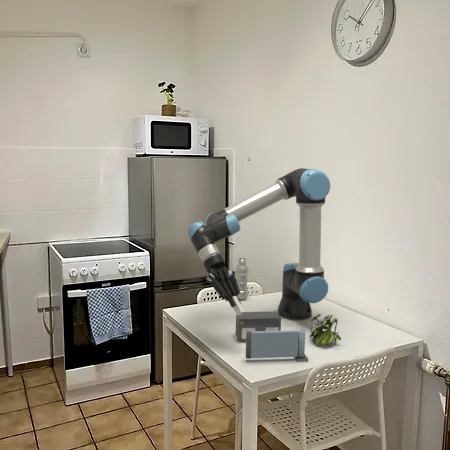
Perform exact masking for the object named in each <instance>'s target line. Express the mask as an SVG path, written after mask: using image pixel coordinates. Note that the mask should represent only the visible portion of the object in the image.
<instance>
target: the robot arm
mask: <svg viewBox="0 0 450 450" xmlns="http://www.w3.org/2000/svg"><path fill="white" fill-rule="evenodd" d="M330 190H331V180H330V178H329V177H328V176H327V174H326V173H325V172H323V171H321V170H319V169H317V168H316V169H315V168H297V169H294V170H292V171H290V172H289V173H286V174H285V175H282V176H281V177H279V178H277V179H275V181H274V183H272V184H271V185H269V186H266V187H265V188H263V189H261V190H259V191H257V192H254V193H253V194H250V195H249V196H247V197H245V198H243V199H241V200H239V201H237V202H234V203H233V204H231V205H229V206H227V207H226V208H224V209H221V210H219V211H217V212H211V213H209V214H208V215H207V216H206V217H205V222H203V221H197V222H194V223H192V224H191V225H190V226H189V227H188V228H187V235H188V237H189V239H190V241H191V243H192V245H193V247H194V249H195V251H196V253H197V254H198V257H199V259H200V260H201V263H203V266H204V268H205V270H206V272H207V273H208V276H207V277H206V279H205V280H206V282H208V283H209V284H210V285H211V286H212V288H213V289H214V290H215V292H216V293H217V294H218V296H219V297H220V299H222V300H225V301H224V302H228V303H229V305H230V306H231V308H233V310H234V312H235V315H236V314H237V316H239V315H241V314H242V313H243V312H245V310H244V308H243V306H242V302H241V301H240V300H239V298H238V295H239V294H240V290H239V287H238V284H237V281H236V271H235V270H232V271H230V270H229V269H228V267H227V266H226V261H225V260H224V257H223V256H222V255H221V252H220V250H219V248H218V247H217V244H216V243H217V242H219V241H222V240H224V239H226V238H228V237H231V236H233V235H235V234H237V233H239V232H240V231H241V225H240V224H241V223H240V222H241V221H243V220H245V219H247V218H249V217H251V216H253V215H255V214H256V213H259V212H261V211H263V210H265V209H266V208H268V207H270V206H272V205H275V204H277V203H278V202H280V201H282V200H285V201H287V200H289V199H292V198H295V204H296V205H297V206H298V207H299V236H298V237H299V240H298V242H299V253H298V255H299V256H298V258H299V259H298V260H299V261H298V262H295V263H294V262H292V263H291V262H290V263H289V262H288V263H285V264H284V265H283V269H282V289H281V290H282V291H281V295H282V296H281V299H280V301H279V303H278V306H277V311H276V312H277V313H278V314H279V316H280V317H281V318H283V319H287V320H295V321H296V320H297V321H298V320H299V321H300V320H308V319H310V318H311V317H312V314H313V309H312V306H311V304H317V303H319V302H321V301H323V300H324V298H326V297H327V295H328V292H329V283H328V281H327V280H326V279H325V269H324V267H323V266H322V265H321V249H322V248H321V247H322V246H321V240H322V239H321V238H322V234H321V233H322V207H323V206H324V205H325V204H326V198H327V195H328V194H329V193H330Z"/></svg>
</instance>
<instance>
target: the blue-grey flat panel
mask: <svg viewBox="0 0 450 450" xmlns="http://www.w3.org/2000/svg"><path fill="white" fill-rule="evenodd" d="M306 332H307V331H306V330H305V329H299V330H298V329H296V330H295V329H294V330H281V331H252V332H251V331H247V332H246V342H245V358H246V359H248V360H250V359H269V358H270V359H271V358H275V359H276V358H294V357H297V356H298V357H304V354H305V350H306V349H305V348H306V347H305V346H306Z"/></svg>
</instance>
